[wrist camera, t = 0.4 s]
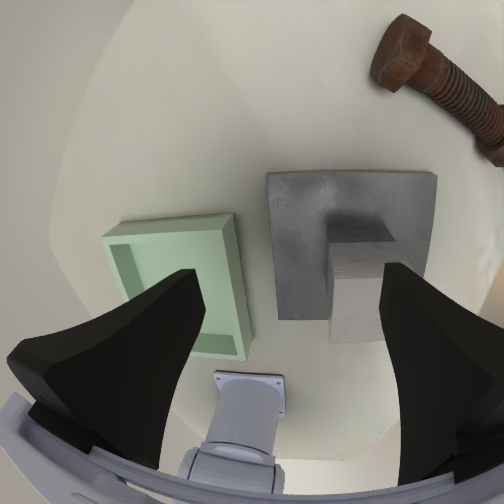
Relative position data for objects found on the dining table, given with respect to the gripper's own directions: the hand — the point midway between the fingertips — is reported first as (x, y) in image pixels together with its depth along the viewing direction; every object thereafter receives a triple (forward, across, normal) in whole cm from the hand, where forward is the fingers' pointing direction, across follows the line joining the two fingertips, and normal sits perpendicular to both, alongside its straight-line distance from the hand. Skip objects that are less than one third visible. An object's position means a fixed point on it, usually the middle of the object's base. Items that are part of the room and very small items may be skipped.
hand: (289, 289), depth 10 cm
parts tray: (+10, +10, +6) cm, 16 cm away
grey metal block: (+9, -4, +4) cm, 11 cm away
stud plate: (+10, -4, +4) cm, 12 cm away
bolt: (+11, -13, -7) cm, 18 cm away
